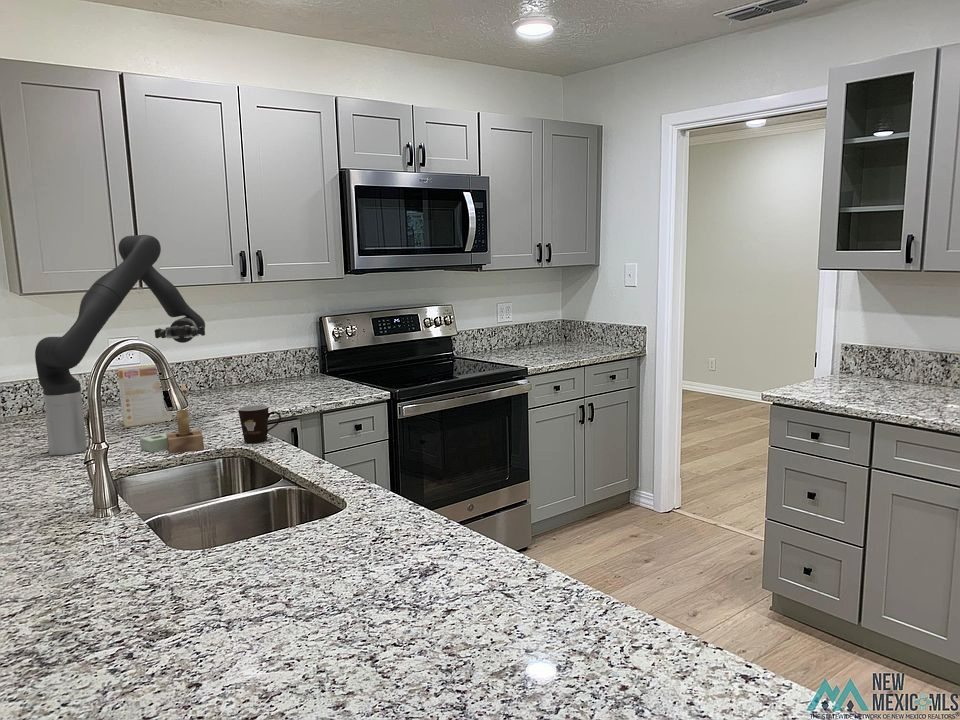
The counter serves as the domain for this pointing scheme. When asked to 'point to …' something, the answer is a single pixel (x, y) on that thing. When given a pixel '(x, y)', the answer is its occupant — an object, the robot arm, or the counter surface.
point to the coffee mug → (255, 423)
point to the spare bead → (154, 443)
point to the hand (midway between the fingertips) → (178, 333)
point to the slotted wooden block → (185, 442)
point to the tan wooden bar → (183, 419)
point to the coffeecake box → (141, 396)
